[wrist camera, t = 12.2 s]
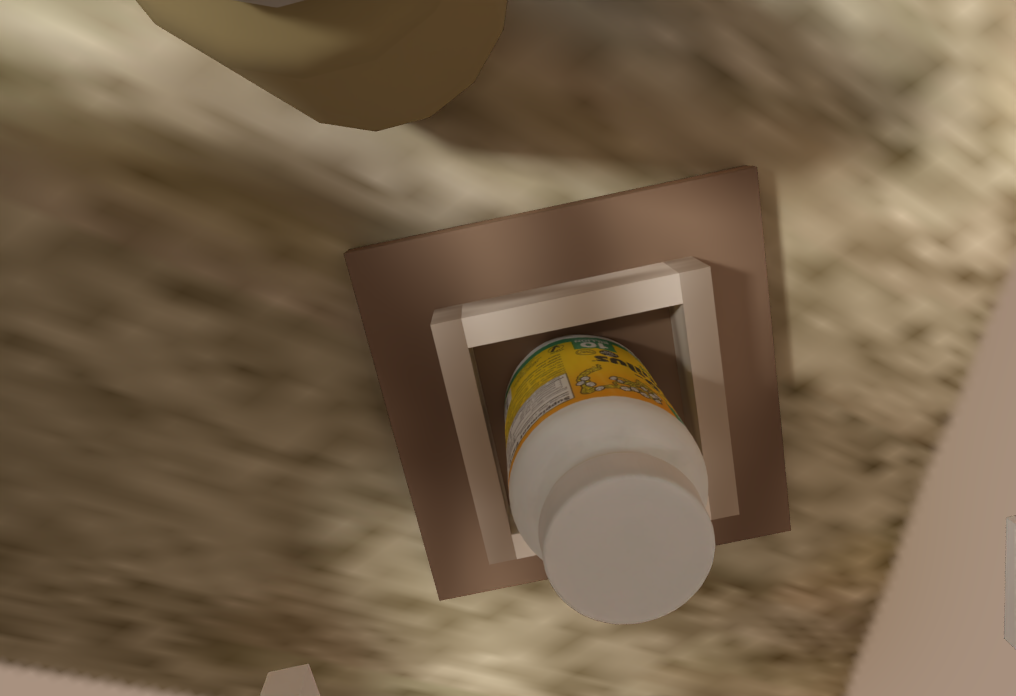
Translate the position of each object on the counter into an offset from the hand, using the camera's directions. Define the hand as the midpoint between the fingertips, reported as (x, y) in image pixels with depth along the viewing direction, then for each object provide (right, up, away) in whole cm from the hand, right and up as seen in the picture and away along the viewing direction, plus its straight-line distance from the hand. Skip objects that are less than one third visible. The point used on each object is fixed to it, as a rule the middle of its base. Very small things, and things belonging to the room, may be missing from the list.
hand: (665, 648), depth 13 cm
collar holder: (0, +4, +13) cm, 14 cm away
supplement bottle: (0, +4, +12) cm, 13 cm away
